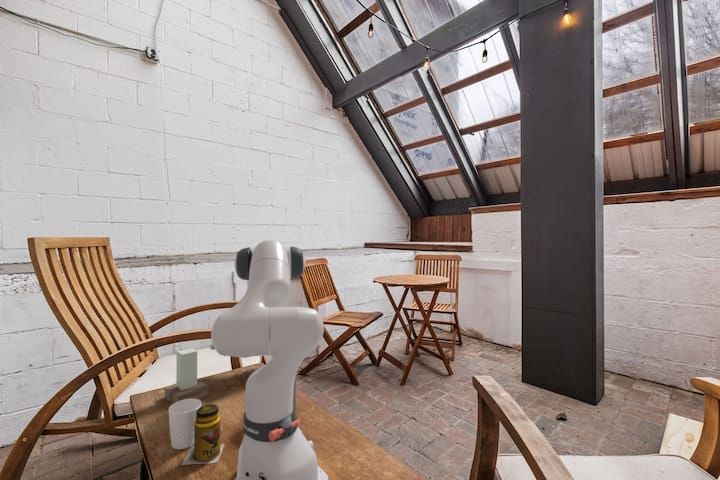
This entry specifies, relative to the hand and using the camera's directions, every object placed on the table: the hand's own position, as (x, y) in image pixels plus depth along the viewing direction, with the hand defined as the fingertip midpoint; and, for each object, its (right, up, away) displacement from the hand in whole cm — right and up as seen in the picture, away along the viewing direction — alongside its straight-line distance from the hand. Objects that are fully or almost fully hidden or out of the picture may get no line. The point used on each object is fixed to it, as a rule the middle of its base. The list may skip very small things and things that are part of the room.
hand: (216, 350), depth 126 cm
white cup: (+5, -14, -33) cm, 37 cm away
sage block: (-7, -10, -8) cm, 14 cm away
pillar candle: (+28, -14, -20) cm, 37 cm away
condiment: (+13, -14, -38) cm, 43 cm away
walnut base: (-7, -14, -8) cm, 17 cm away
